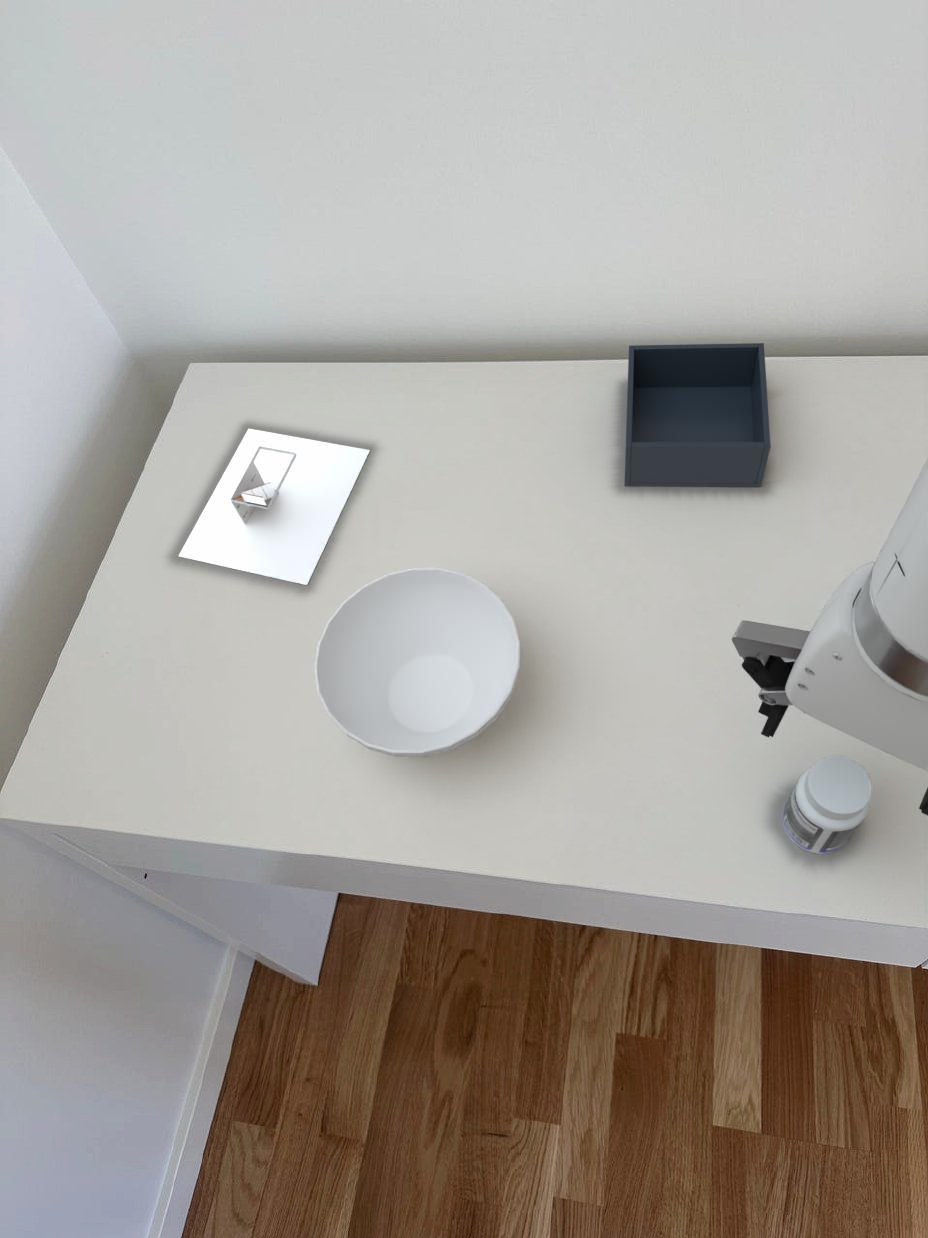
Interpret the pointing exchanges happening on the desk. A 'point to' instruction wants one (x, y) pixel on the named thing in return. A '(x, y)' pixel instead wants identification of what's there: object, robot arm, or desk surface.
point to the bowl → (418, 662)
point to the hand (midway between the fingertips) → (851, 754)
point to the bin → (697, 415)
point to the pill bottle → (827, 804)
